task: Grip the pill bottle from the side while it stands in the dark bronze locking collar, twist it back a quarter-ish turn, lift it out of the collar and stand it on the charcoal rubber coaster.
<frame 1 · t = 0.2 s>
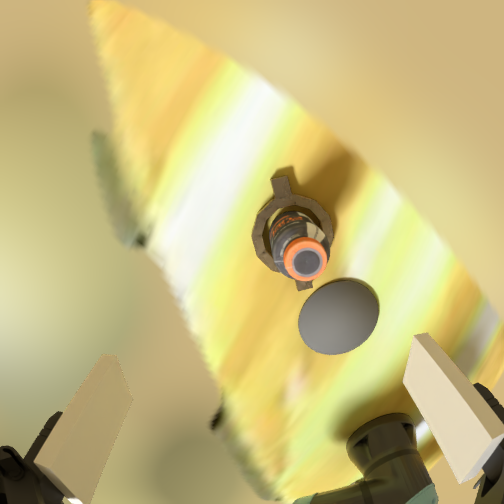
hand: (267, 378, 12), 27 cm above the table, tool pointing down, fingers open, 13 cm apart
pill bottle: (291, 233, 39), resting in collar
collar: (292, 233, 38), on the table
coaster: (339, 319, 42), on the table
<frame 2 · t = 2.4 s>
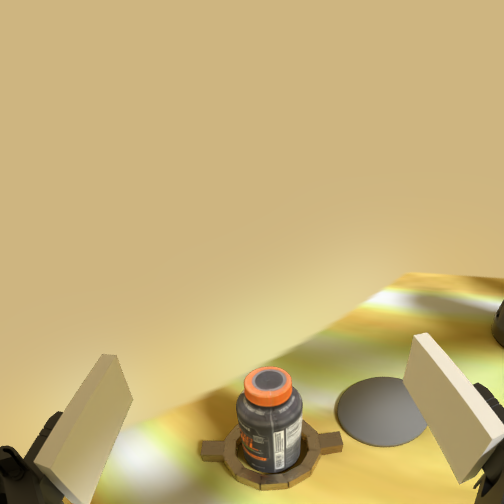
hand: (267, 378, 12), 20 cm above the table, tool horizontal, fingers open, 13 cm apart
pill bottle: (272, 454, 27), resting in collar
collar: (272, 453, 27), on the table
coaster: (385, 410, 30), on the table
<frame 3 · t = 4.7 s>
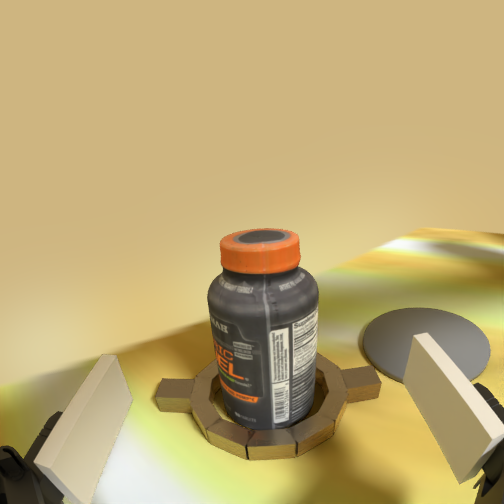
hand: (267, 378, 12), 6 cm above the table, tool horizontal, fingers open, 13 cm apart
pill bottle: (269, 403, 18), resting in collar
collar: (269, 401, 18), on the table
coaster: (428, 344, 22), on the table
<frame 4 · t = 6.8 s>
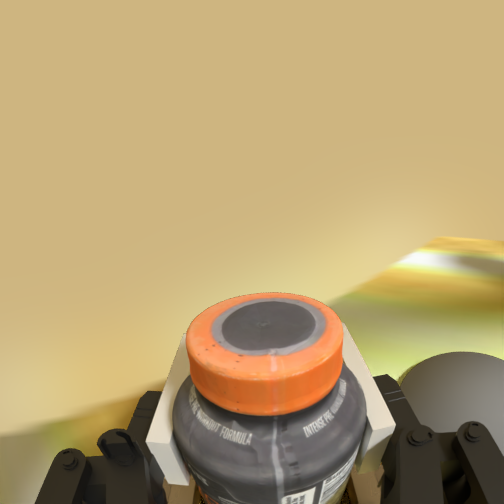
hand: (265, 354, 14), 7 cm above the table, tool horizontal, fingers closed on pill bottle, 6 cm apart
coaster: (473, 404, 14), on the table
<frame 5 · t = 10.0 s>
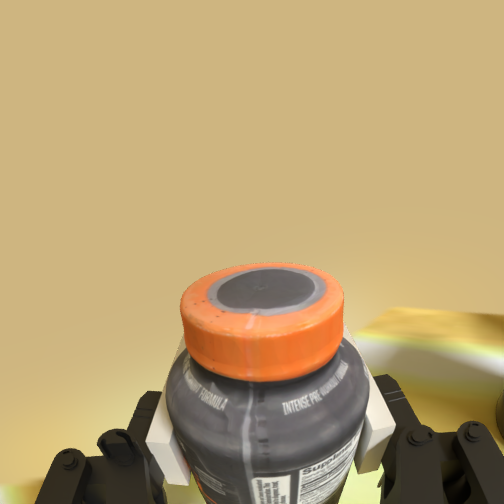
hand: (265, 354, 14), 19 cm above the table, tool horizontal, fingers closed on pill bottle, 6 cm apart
pill bottle: (273, 501, 11), point 13 cm above the table, touching gripper
when the fingers open (8 cm above the table, at t = 12.5 s): pill bottle drops 2 cm, resting on coaster.
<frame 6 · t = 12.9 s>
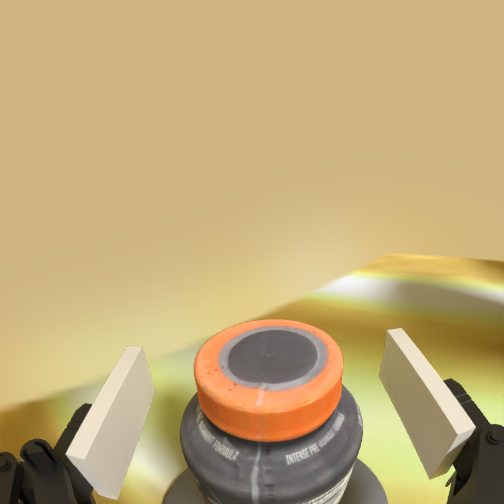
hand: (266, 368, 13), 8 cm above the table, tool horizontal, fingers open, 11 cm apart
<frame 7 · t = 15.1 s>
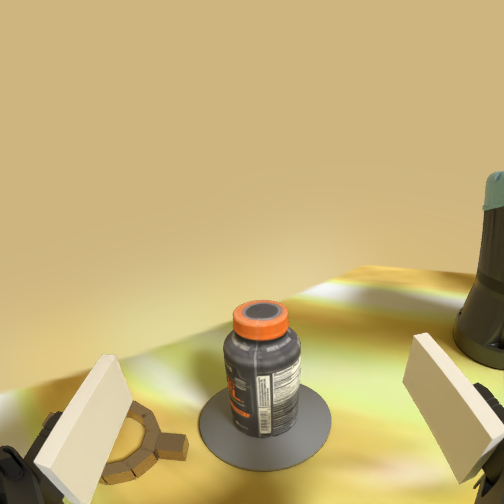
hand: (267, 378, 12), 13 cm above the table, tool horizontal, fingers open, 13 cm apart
pill bottle: (265, 418, 25), resting on coaster
collar: (111, 442, 21), on the table
coaster: (265, 421, 25), on the table
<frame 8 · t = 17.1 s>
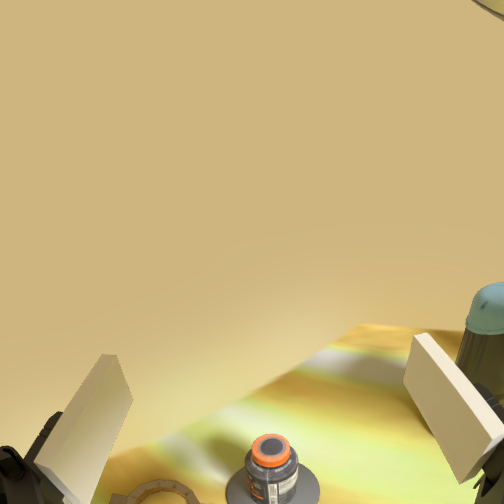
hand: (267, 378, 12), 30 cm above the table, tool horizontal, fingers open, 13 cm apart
pill bottle: (273, 491, 30), resting on coaster
coaster: (273, 493, 30), on the table
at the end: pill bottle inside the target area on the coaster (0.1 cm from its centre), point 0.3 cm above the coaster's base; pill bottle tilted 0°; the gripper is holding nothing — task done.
